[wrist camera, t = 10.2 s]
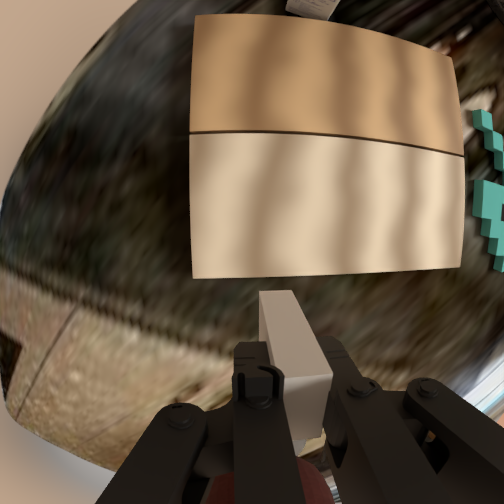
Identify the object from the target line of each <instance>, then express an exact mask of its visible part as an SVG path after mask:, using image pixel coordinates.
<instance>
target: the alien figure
mask: <svg viewBox="0 0 504 504" xmlns="http://www.w3.org/2000/svg"><path fill="white" fill-rule="evenodd" d="M472 114H473V127H474V128H476V129H478V130H481V131H483V132H484V146H485V149H487V150H490V151H492V152H494V169H497V170H499V171H502V172H503V185H502V186H501V185H498V184H495V183H492V182H488V181H485V180H474V198H473V211H472V216H476V217H481V218H482V226H481V234H480V235H483V236H487V237H490V238H489V245H488V252H487V253H490V254H493V255H496V256H495V262H494V267H493V269H495V270H498V271H500V272H504V152H503V142H502V135H500V134H498V133H496V132H494V131H493V127H492V116H491V114H490V113H488V112H486V111H484V110H482V109H479V110H474V111H472Z"/></svg>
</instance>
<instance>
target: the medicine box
mask: <svg viewBox="0 0 504 504" xmlns="http://www.w3.org/2000/svg"><path fill="white" fill-rule="evenodd" d="M339 1H340V0H288V1H287V5H286V9H285V10H286V11H289V12H292V13H294V14H297V15H300V16H302V17H305V18H308V19H315V20H322V21H328V19H329V17H330V16H331V14H332V12H333V11H334V9H335V8H336V6H337V4H338V3H339Z"/></svg>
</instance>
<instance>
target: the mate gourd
mask: <svg viewBox="0 0 504 504" xmlns="http://www.w3.org/2000/svg"><path fill="white" fill-rule="evenodd" d="M292 442H293V446H294V451H295V455H296V459H297V464H298V468H299V473H300V477H301V482H302V486H303V491H304V495H305V499H306V504H335V502H334V499H333V496H332V493H331V490H330V488H329V487H328V485H327V483H326V481H325V479H324V477H323V476H322V475H321V473H320V472H319V470H318V469H317V468H316V467H315V466H314V465H313V464H311V463H309V462H307V461H305V460H303V459H301V458H300V457H298V456H297V455H298V454H299V453H300V452H301V451H302V450H303V448H304V446H305V444H306V439H303V440H294V441H292ZM205 504H235V496H234V472H230V473H226V474H222V475H218V476H215V479H214V482H213V484H212V487H211V489H210V492H209V495H208V497H207V500H206V502H205Z"/></svg>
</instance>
